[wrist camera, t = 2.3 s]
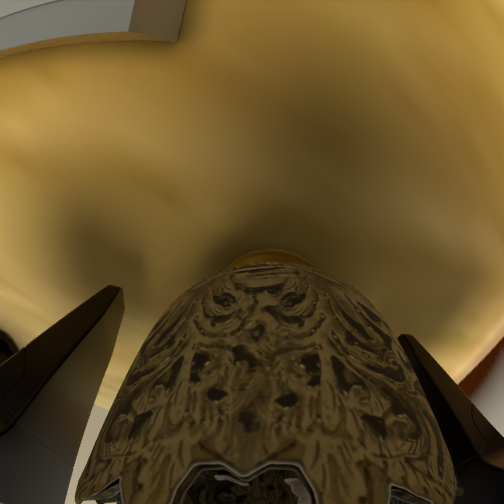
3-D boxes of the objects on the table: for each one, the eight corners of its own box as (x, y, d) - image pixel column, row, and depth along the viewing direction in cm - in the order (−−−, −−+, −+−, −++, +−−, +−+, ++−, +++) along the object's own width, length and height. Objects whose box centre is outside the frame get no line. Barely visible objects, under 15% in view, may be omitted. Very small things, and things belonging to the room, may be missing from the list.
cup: (190, 350, 13) (159, 526, 6) (136, 196, 9) (-18, 456, 2) (361, 341, 12) (392, 522, 5) (388, 176, 8) (555, 452, 1)
